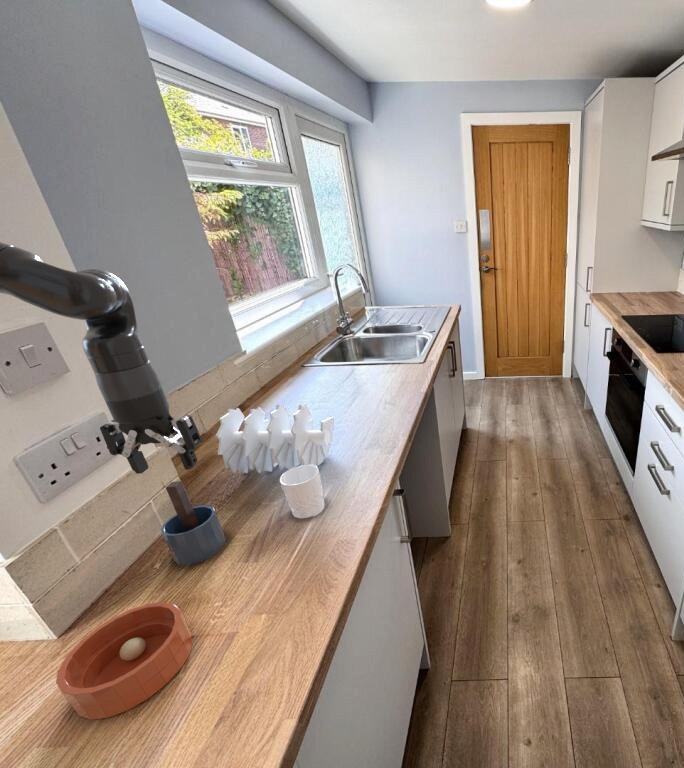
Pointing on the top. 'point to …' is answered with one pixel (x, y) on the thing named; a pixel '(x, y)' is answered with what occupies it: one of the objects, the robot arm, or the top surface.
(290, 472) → the white cup
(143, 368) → the robot arm
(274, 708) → the top surface
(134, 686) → the bowl
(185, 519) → the stick
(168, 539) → the utensil pot
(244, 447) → the spiral staircase
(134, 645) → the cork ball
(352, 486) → the top surface
